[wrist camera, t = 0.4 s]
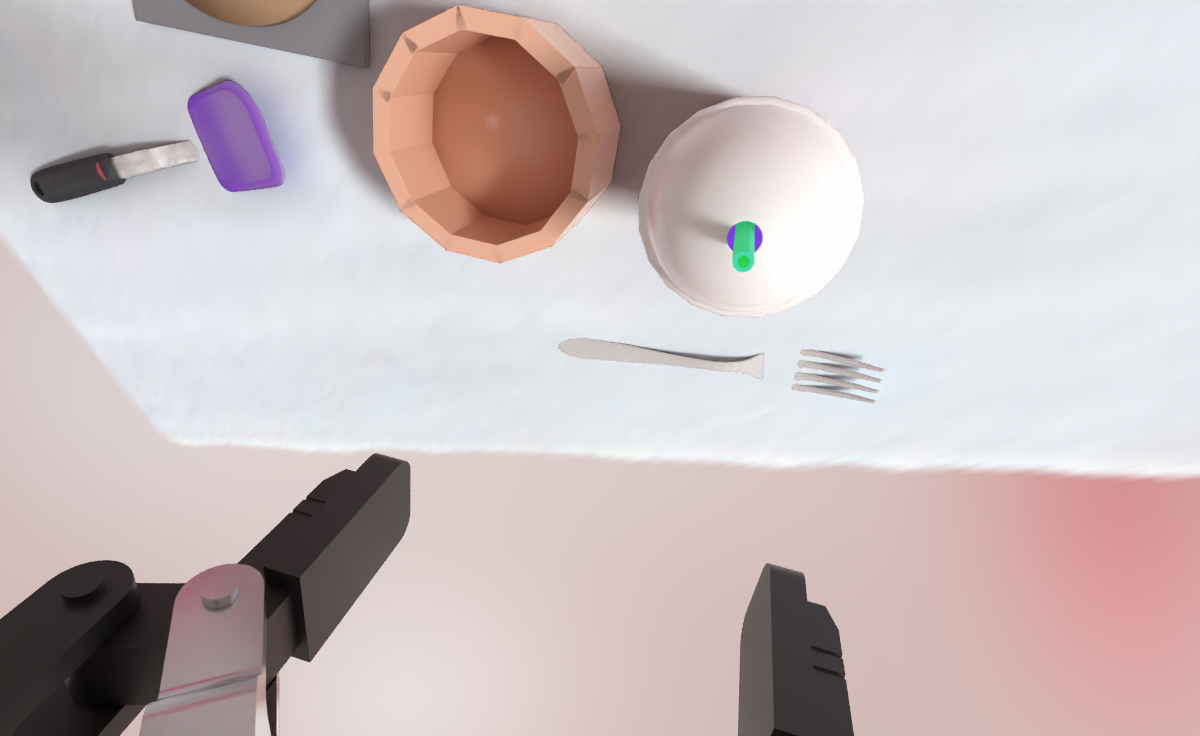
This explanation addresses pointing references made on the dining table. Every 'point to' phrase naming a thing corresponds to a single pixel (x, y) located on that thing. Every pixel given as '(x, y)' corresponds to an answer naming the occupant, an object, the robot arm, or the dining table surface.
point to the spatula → (182, 151)
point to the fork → (723, 364)
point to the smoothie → (750, 206)
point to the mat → (279, 28)
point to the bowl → (493, 131)
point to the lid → (253, 10)
